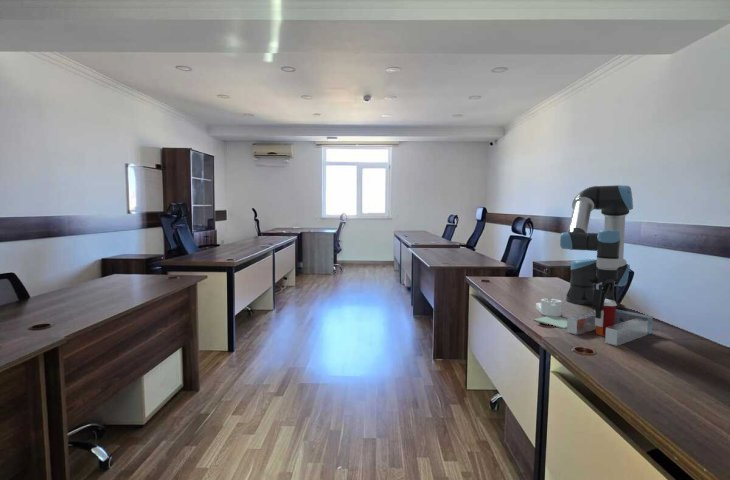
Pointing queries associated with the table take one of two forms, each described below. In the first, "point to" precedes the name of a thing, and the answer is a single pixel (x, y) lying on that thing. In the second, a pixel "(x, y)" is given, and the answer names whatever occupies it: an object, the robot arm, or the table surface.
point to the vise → (614, 326)
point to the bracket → (549, 307)
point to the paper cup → (607, 316)
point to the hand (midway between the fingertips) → (604, 324)
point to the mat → (553, 321)
